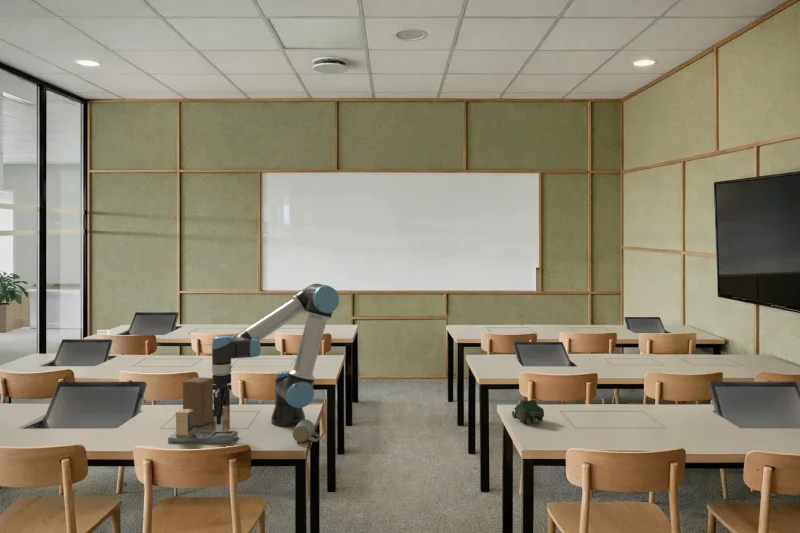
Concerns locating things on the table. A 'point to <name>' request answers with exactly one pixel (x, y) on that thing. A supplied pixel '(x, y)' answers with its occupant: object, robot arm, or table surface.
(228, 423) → the finger block
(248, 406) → the table surface
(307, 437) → the ceramic mug
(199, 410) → the wooden block
